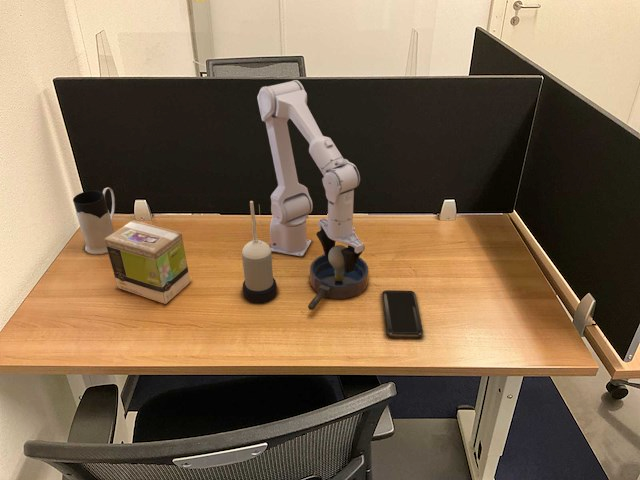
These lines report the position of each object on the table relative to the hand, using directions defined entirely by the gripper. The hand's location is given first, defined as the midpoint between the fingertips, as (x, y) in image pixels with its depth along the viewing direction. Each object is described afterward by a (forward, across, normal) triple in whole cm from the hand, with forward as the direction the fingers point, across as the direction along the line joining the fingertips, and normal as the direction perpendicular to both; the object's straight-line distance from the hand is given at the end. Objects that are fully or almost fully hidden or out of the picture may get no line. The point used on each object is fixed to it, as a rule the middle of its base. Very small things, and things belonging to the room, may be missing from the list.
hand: (339, 263), depth 123 cm
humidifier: (+6, +8, +18) cm, 21 cm away
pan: (+5, 0, 0) cm, 5 cm away
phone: (+6, -18, -3) cm, 20 cm away
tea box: (+6, +27, +37) cm, 46 cm away
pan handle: (+3, -4, +10) cm, 11 cm away
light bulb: (+5, 0, 0) cm, 5 cm away
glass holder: (+6, +54, +39) cm, 67 cm away
